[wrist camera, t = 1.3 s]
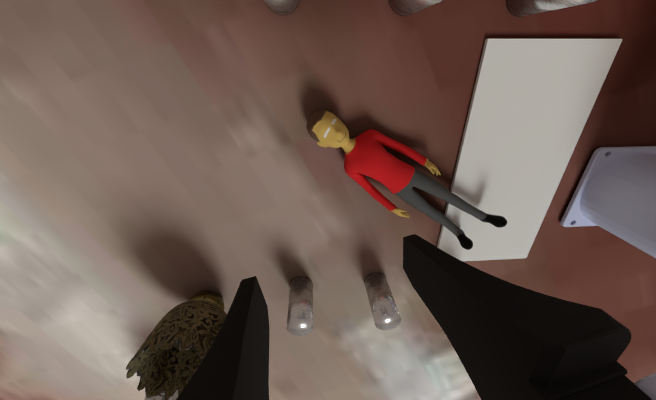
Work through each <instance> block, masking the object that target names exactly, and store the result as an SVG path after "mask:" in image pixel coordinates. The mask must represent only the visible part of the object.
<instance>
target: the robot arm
mask: <svg viewBox="0 0 656 400" xmlns="http://www.w3.org/2000/svg"><path fill="white" fill-rule="evenodd" d="M560 224H561V225H562V226H564V227H577V226H600V227H602V228H603V229H605V230H607V231H609V232H610V233H612V234H614V235H616V236H617V237H619V238H621V239H623V240H625V241H626V242H628V243H630V244H632V245H633V246H635V247H637V248H639V249H640V250H642V251H644V252H646V253H647V254H649V255H651V256H653V257H655V258H656V146H635V147H601V148H598V149H596V150H595V151H594V153H593V155H592V157H591V159H590V161H589V163H588V165H587V167H586V169H585V171H584V173H583V176H582V178H581V180H580V182H579V184H578V186H577V188H576V190H575V192H574V194H573V196H572V199H571V201H570V203H569V205H568V207H567V209H566V211H565V213H564V215H563V217H562V220H561V222H560ZM403 269H404V271H405V273H406V275H407V276H408V278H409V280H410V282H411V284H412V286H413V287H414V289H415V290H416V292H417V293H418V295H419V296H420V297H421V299H422V300H423V302H424V303H425V305H426V306H427V307H428V309H429V310H430V312H431V313H432V315H433V316H434V317H435V319H436V320H437V322H438V323H439V324H440V326H441V327H442V329H443V331H444V332H445V334H446V335H447V337H448V339H449V341H450V342H451V344H452V346H453V348H454V349H455V351H456V353H457V355H458V356H459V358H460V360H461V362H462V364H463V366H464V367H465V369H466V371H467V373H468V375H469V377H470V378H471V380H472V382H473V384H474V386H475V388H476V390H477V392H478V394H479V396H480V398H481V400H656V373H654V374H652V375H649V376H646V377H644V378H642V379H640V380H638V381H637V382H635V383H633V382H632V381H630V380H629V379H628V378H627V377H626V376H625V375H626V374H627V370H626V369H625V368H624V367H623V366H622V365H620V364H619V363H618V362H617V360H618V358H619V357H620V355H621V354H622V353H623V351H624V350H625V349H626V347H627V346H628V344H629V342H630V341H631V332H630V331H629V329H627V328H626V327H625V326H623V325H622V324H621V323H619V322H618V321H617V320H615V319H614V318H613V317H611V316H610V315H608V314H607V313H606V312H604V311H603V310H601V309H599V308H594V307H590V306H586V305H582V304H578V303H574V302H569V301H565V300H562V299H558V298H555V297H551V296H548V295H544V294H541V293H538V292H535V291H532V290H529V289H526V288H523V287H520V286H517V285H515V284H512V283H509V282H507V281H504V280H501V279H499V278H497V277H494V276H492V275H490V274H487V273H485V272H483V271H481V270H478V269H476V268H474V267H472V266H470V265H468V264H466V263H464V262H462V261H461V260H459V259H457V258H455V257H453V256H451V255H450V254H448V253H446V252H444V251H443V250H441V249H439V248H437V247H436V246H434V245H432V244H431V243H429V242H427V241H426V240H424V239H422V238H421V237H419V236H417V235H415V234H414V235H410V236H407V237H403ZM268 374H269V319H268V309H267V304H266V301H265V299H264V296H263V294H262V291H261V288H260V286H259V283H258V280H257V278H256V276H255V277H251V278H247V279H243V280H242V281H241V283H240V285H239V288H238V291H237V293H236V295H235V298H234V300H233V303H232V305H231V307H230V309H229V311H228V314H227V316H226V318H225V320H224V322H223V324H222V326H221V328H220V330H219V332H218V334H217V336H216V337H215V339H214V341H213V343H212V345H211V347H210V348H209V350H208V352H207V354H206V355H205V357H204V359H203V360H202V362H201V363H200V365H199V367H198V368H197V370H196V371H195V373H194V374H193V376H192V377H191V379H190V380H189V382H188V383H187V385H186V386H185V388H184V389H183V390H182V392H181V393H180V395H179V396H178V397H177V399H176V400H269V387H268Z"/></svg>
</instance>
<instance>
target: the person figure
mask: <svg viewBox="0 0 656 400" xmlns="http://www.w3.org/2000/svg"><path fill="white" fill-rule="evenodd" d="M307 130H308V133H309V134H310V136H311V137H312V138H313V139H314V140H316V141H317V144H318V145H319V146H322V147H328V146H329V147H333V148H339V147H342V148H343V149H344V151H345V161H344V169H345V172H346V173H347V174H348V175H349V176H350V177H351V178H352V179H353V180H355V181H356V182H357V183H358V184H359V185H361V186H362V187H363V188H364V189H365V190H366V191H367V192H368V193H369V194H370V195H371V196H372V197H373V198H374V199H376V200H377V201H378V202H379V203H381V204H382V205H383V206H385V207H386V208H387V209H388V210H390V211H391V212H394V213H395V214H397V215H399V216H404V217H410V216H408V215H409V214H406V213H403V212H407V211H405V210H401V209H399V208H397V207H396V206H395V205H394V204H393V203H391V202H390V201H389V200H388V199H387V198H385V197H384V196H383V195H382V194H381V193H380V192H379V191H378V190H377V189H376V188H375V187H374V186H373V185H372V184H371V183H370V182H369V181H368V180H367V179H366V178H365V177H364V175H366V176H369V177H371V178H373V179H375V180H377V181H379V182H381V183H382V184H383V185H385V186H386V187H387V188H388V189H389V190H390V191H391V192H392V193H393V194H396V195H397V196H399V197H400V198H401V199H402V200H404V201H405V202H406V203H408V204H409V205H411V206H413V207H414V208H416V209H417V210H419V211H421V212H423V213H425V214H426V215H427V216H429V217H430V218H432V219H433V220H435V221H437V222H438V223H440V224H441V225H443V226H444V227H446V228H447V229H448V230H450V231H451V232H452V233H453V234H454V235H455V236H456V237H457V239H458V240H459V242H460V245H461V246H462V248H464V249H466V250H470V249H471V248H472V247H473V242H472V240H471V239H469V238H468V237H467V236H466V235H465V233H464V232H463V230H461V229H460V228H459V227H458V226H456V225H455V224H454V223H453V222H452V221H451V220H449V219H448V218H447V217H446V216H445V215H444V214H442V213H441V212H440V211H438V210H437V209H435V208H434V207H432V206H431V205H429V204H428V203H427V202H426V201H425V200H424V199H423V198H422V197H421V196H420V195H419V194H418V193H417V192H416V191H415V190H414V189H413V188H412V187H416V188H419V189H421V190H423V191H425V192H428V193H430V194H432V195H434V196H436V197H438V198H441V199H443V200H445V201H446V202H448V203H449V204H451V205H453V206H455V207H456V208H458V209H460V210H462V211H464V212H466V213H468V214H470V215H472V216H474V217H475V218H477V219H479V220H480V221H482V222H486V223H490V224H492V225H494V226H495V227H498V228H500V227H505V226H506V225H507V220H506V219H505V218H504V217H503V216H498V215H491V214H487V213H485V212H483V211H481V210H479V209H477V208H476V207H474V206H472V205H470V204H469V203H467V202H466V201H464V200H463V199H461V198H460V197H458V196H457V195H455V194H453V193H451V192H450V191H449V190H448V189H446V188H445V187H444V186H443V185H441V184H440V183H438V182H437V181H435V180H434V179H432V178H431V177H429V176H428V175H426V174H424V173H422V172H420V171H419V170H417V169H415V168H414V167H413V166H411V165H409V164H407V163H405V162H403V161H400V160H399V159H397V158H396V157H394V156H393V155H391V154H390V153H388V152H387V151H386V150H385V149H384V147H383V146H386V147H388V148H391V149H393V150H395V151H398V152H400V153H402V154H404V155H406V156H408V157H410V158H412V159H413V160H415V161H417V162H418V163H420V164H421V165H423V166H426V167H427V168H428V169H429V170H430V171H431V172H432V173H433V174H434V173H435V172H436V176H438V174H439V175H441V174H440V172H439V170H438V169H437V167H436V166H435V165H434V164H433V163H431V162H429V161H428V160H429V159H427V158H426V157H424V156H422V155H421V154H419V153H418V152H416V151H415V150H413V149H411V148H410V147H408V146H406V145H404V144H402V143H400V142H398V141H396V140H393V139H391V138H389V137H387V136H385V135H383V134H381V133H380V132H378V131H376V130H374V129H370V130H367V131H365V132H363V133H362V134H360V135H359V136H357V137H355V138H353V139H350V138H349V131H348V129H347V128H346V126H345V125H344V124H343V123H342V122H341V120H340V119H339V118H338V117H337V116H335V115H334V114H333V113H332V112H330V111H328V110H324V109H322V110H317V111H315V112H314V113H313V114H312V115H311V116H310V118H309V120H308V122H307ZM382 145H383V146H382ZM431 168H432V169H431ZM433 171H434V172H433ZM362 174H363V175H362ZM402 213H403V214H402ZM405 214H406V215H405Z"/></svg>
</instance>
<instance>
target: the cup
mask: <svg viewBox="0 0 656 400" xmlns="http://www.w3.org/2000/svg"><path fill="white" fill-rule="evenodd" d="M226 316H227V314H226V313H225V311H224V302H223V300H222V298H221V297H220V296H219V295H217V294H216V293H213V292H209V291H203V292H199V293H196V294H195V295H193V296H192V297H191V298H190V299H189V300H188V301H187V302H184V303H181V304H179V305H177V306H176V307H174V308H173V309H172V310H170V311H169V312H168V313H167V314H166V315H165V316H164V317H163V318H162V319H161V321H160V322H159V323H158V324H157V326H156V327H155V328H154V330H153V331H152V332H151V334H150V335H149V336H148V338H147V339H146V341H145V342H144V343H143V345H142V346H141V347H140V349H139V350H138V352H137V353H136V354H135V356H134V357H133V358H132V359H131V361H130V362H129V364H128V365H127V367H126V370H128V369H129V370H128V372H127V378H130V377H132V376H133V375H134V373H136V372H137V376H140V382H139V385H138V388H137V389H138V391H140V390H142V389H143V388H144V387H145V392H146V398H147V399H148V398H153V397H155V396H158V395H160V394H161V393H165V395H164V398H165V400H169V399H171V398H172V397H173V395H174V393H175V392H176V391H177V390H178V396H179V395H180V393H181V392H182V390H183V389H184V388H185V386H186V385H187V383H188V382H189V380H190V379H191V377H192V376H193V374H194V373H195V371H196V370H197V368H198V367H199V365H200V363H201V362H202V360H203V359H204V357H205V355H206V354H207V352H208V350H209V348H210V347H211V345H212V343H213V341H214V339H215V337H216V336H217V334H218V332H219V330H220V328H221V326H222V324H223V322H224V320H225V318H226ZM164 391H165V392H164Z"/></svg>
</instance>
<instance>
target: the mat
mask: <svg viewBox="0 0 656 400" xmlns="http://www.w3.org/2000/svg"><path fill="white" fill-rule="evenodd" d="M621 42H622V39H485V43H484V48H483V52H482V56H481V61H480V65H479V69H478V73H477V78H476V82H475V86H474V90H473V95H472V99H471V103H470V108H469V112H468V116H467V120H466V125H465V129H464V133H463V137H462V142H461V146H460V150H459V155H458V159H457V163H456V167H455V172H454V176H453V180H452V184H451V189H450V192H451V193H453V194H455V195H457V196H458V197H460V198H461V199H463V200H464V201H466V202H467V203H469V204H470V205H472V206H474V207H476V208H477V209H479V210H481V211H483V212H485V213H487V214H491V215H498V216H503V217H504V218H505V219H506V220H507V225H506V226H505V227H500V228H498V227H495V226H494V225H492V224H490V223H486V222H482V221H480V220H479V219H477V218H475V217H474V216H472V215H470V214H468V213H466V212H464V211H462V210H460V209H458V208H456V207H455V206H453V205H451V204H449V203H448V202H447V206H446V210H445V214H444V215H445V216H446V217H447V218H448V219H449V220H451V221H452V222H453V223H454V224H455V225H456V226H458V227H459V228H460V229H461V230H463V232H464V233H465V235H466V236H467V237H468V238H469V239H471V240H472V242H473V247H472V248H471V249H470V250H466V249H464V248H462V246H461V245H460V242H459V240H458V239H457V237H456V236H455V235H454V234H453V233H452V232H451V231H450V230H448V229H447V228H446V227H444V226H443V225H442V227H441V231H440V236H439V240H438V244H437V248H439V249H441V250H443V251H444V252H446V253H448V254H450V255H451V256H453V257H455V258H457V259H459V260H461V261H478V260H498V259H518V258H527V255H528V253H529V251H530V248H531V246H532V244H533V242H534V239H535V237H536V235H537V233H538V230H539V228H540V226H541V223H542V221H543V219H544V217H545V214H546V212H547V210H548V208H549V205H550V203H551V201H552V198H553V196H554V194H555V192H556V189H557V187H558V185H559V183H560V180H561V178H562V176H563V173H564V171H565V169H566V167H567V164H568V162H569V160H570V158H571V155H572V153H573V151H574V148H575V146H576V144H577V142H578V139H579V137H580V135H581V133H582V130H583V128H584V126H585V123H586V121H587V119H588V117H589V114H590V112H591V110H592V108H593V105H594V103H595V101H596V99H597V96H598V94H599V92H600V89H601V87H602V85H603V83H604V80H605V78H606V76H607V74H608V71H609V69H610V67H611V64H612V62H613V60H614V58H615V55H616V53H617V51H618V49H619V46H620V44H621Z"/></svg>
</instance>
